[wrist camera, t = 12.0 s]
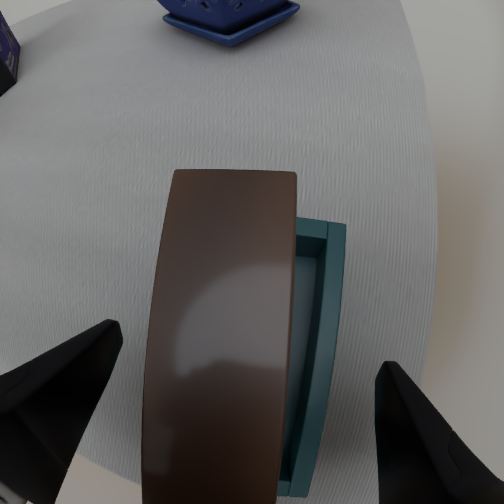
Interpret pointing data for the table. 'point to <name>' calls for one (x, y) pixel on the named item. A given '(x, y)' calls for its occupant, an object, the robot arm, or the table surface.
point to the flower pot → (227, 17)
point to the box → (7, 56)
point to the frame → (220, 339)
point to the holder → (311, 348)
